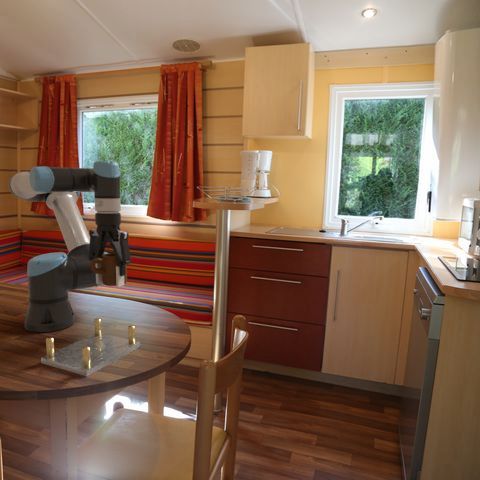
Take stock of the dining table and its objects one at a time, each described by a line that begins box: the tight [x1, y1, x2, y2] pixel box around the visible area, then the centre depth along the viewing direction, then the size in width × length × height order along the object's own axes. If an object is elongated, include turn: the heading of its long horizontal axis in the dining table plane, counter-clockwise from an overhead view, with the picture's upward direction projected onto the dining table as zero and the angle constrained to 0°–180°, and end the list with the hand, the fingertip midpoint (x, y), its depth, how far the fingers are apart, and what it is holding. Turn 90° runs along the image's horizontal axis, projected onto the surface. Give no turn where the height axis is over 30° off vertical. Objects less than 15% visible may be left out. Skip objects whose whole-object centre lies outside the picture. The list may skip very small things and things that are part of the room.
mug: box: [90, 252, 128, 287], centre depth 125 cm, size 12×8×9 cm, turn 138°
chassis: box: [40, 317, 141, 377], centre depth 109 cm, size 16×20×6 cm
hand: (110, 284), depth 125 cm, fingers closed on mug, 7 cm apart
